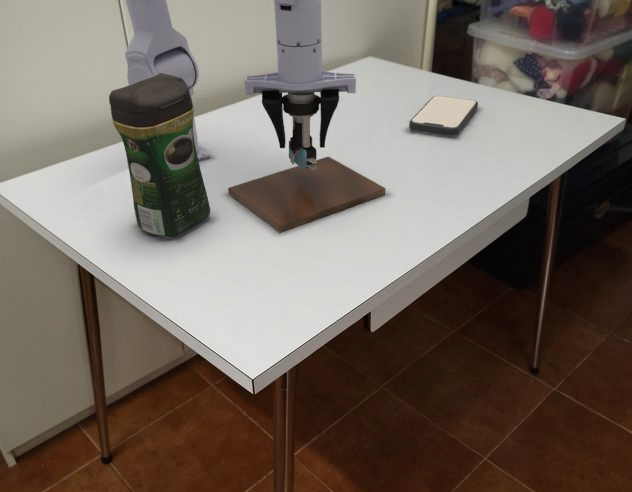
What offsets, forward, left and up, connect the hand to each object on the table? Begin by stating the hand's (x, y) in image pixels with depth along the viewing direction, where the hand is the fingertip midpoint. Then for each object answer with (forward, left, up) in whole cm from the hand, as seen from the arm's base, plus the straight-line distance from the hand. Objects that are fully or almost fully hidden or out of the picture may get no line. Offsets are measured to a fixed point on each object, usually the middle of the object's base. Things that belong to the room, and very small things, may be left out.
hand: (302, 145), depth 88 cm
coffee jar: (-20, +2, -7) cm, 21 cm away
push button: (0, 0, -3) cm, 3 cm away
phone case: (+35, +7, -7) cm, 36 cm away
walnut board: (-1, -2, -6) cm, 7 cm away
